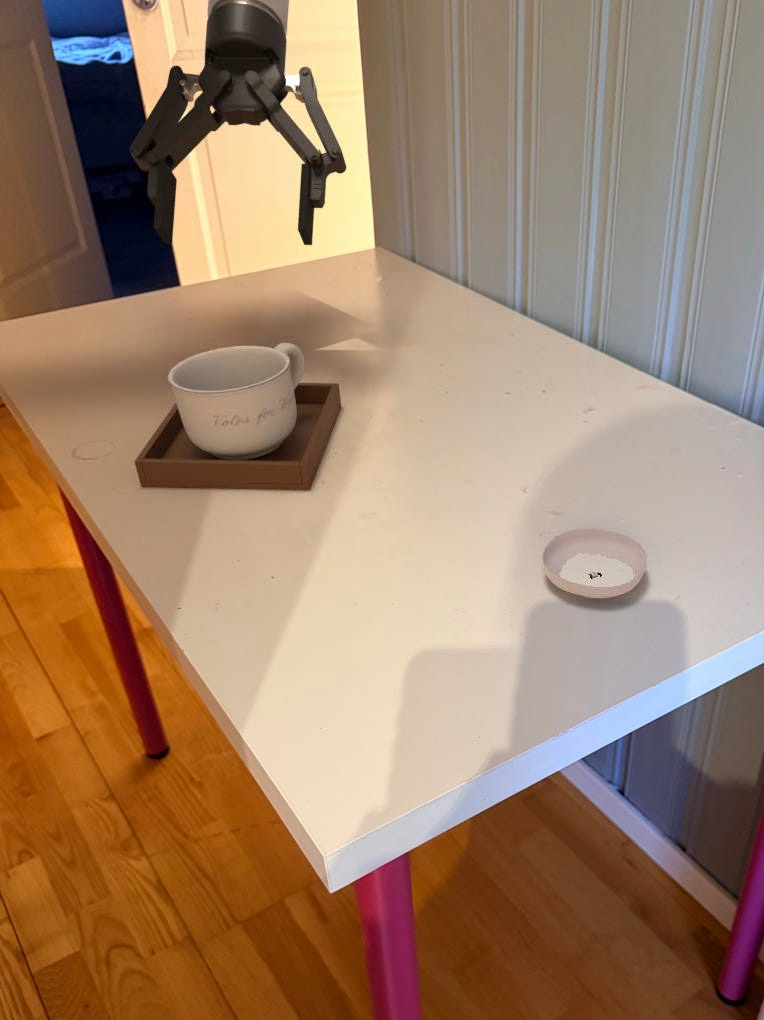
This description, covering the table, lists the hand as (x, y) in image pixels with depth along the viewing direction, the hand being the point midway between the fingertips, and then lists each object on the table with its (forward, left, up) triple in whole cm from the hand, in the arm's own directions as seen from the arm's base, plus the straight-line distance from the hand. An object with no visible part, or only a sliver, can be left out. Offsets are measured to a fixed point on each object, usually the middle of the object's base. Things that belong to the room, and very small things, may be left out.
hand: (233, 236), depth 86 cm
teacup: (+3, -11, -16) cm, 19 cm away
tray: (+1, -11, -16) cm, 19 cm away
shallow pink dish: (+33, -32, -16) cm, 49 cm away
